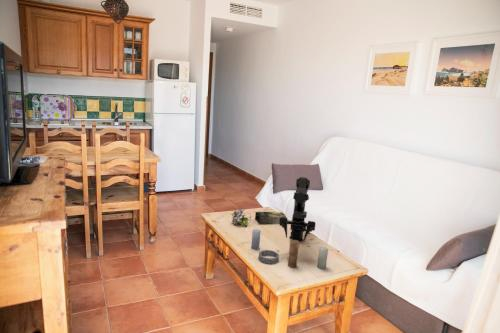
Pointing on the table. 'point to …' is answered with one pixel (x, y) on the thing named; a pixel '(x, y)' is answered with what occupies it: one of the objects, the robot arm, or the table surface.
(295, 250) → the walnut peg
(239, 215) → the green succulent plant
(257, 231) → the slate-blue peg
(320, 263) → the grey-green peg
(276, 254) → the steel ring
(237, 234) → the table surface
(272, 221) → the dark olive boxy piece
